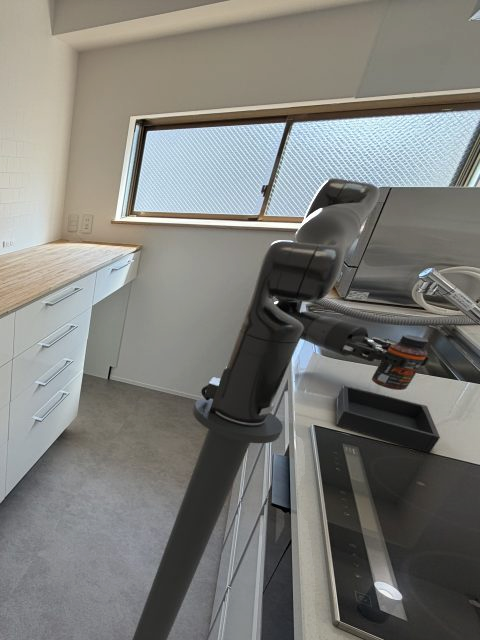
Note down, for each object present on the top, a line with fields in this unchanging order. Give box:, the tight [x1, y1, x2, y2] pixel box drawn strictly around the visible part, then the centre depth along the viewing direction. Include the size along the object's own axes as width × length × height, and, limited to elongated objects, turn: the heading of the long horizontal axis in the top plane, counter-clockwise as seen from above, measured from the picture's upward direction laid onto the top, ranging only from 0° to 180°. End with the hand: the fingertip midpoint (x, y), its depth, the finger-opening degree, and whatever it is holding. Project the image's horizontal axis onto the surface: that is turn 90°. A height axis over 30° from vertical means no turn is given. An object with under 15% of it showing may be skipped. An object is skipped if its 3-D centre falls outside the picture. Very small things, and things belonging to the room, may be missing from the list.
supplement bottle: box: [371, 334, 429, 391], centre depth 90 cm, size 6×6×11 cm
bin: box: [335, 384, 441, 454], centre depth 84 cm, size 14×16×4 cm
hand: (416, 362), depth 87 cm, fingers closed on supplement bottle, 6 cm apart
